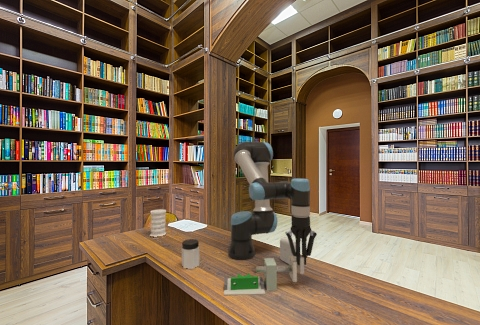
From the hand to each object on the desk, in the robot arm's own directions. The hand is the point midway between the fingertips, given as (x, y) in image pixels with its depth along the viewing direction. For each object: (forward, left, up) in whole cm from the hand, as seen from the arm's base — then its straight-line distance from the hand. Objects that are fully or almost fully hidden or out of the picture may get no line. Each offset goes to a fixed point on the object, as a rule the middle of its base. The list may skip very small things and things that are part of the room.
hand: (301, 272), depth 91 cm
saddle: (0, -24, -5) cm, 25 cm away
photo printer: (-22, 0, -6) cm, 23 cm away
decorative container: (-69, -83, -6) cm, 108 cm away
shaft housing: (0, -13, -5) cm, 14 cm away
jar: (-20, -50, -6) cm, 54 cm away
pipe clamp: (+1, -24, -5) cm, 24 cm away
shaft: (0, -11, -2) cm, 11 cm away
